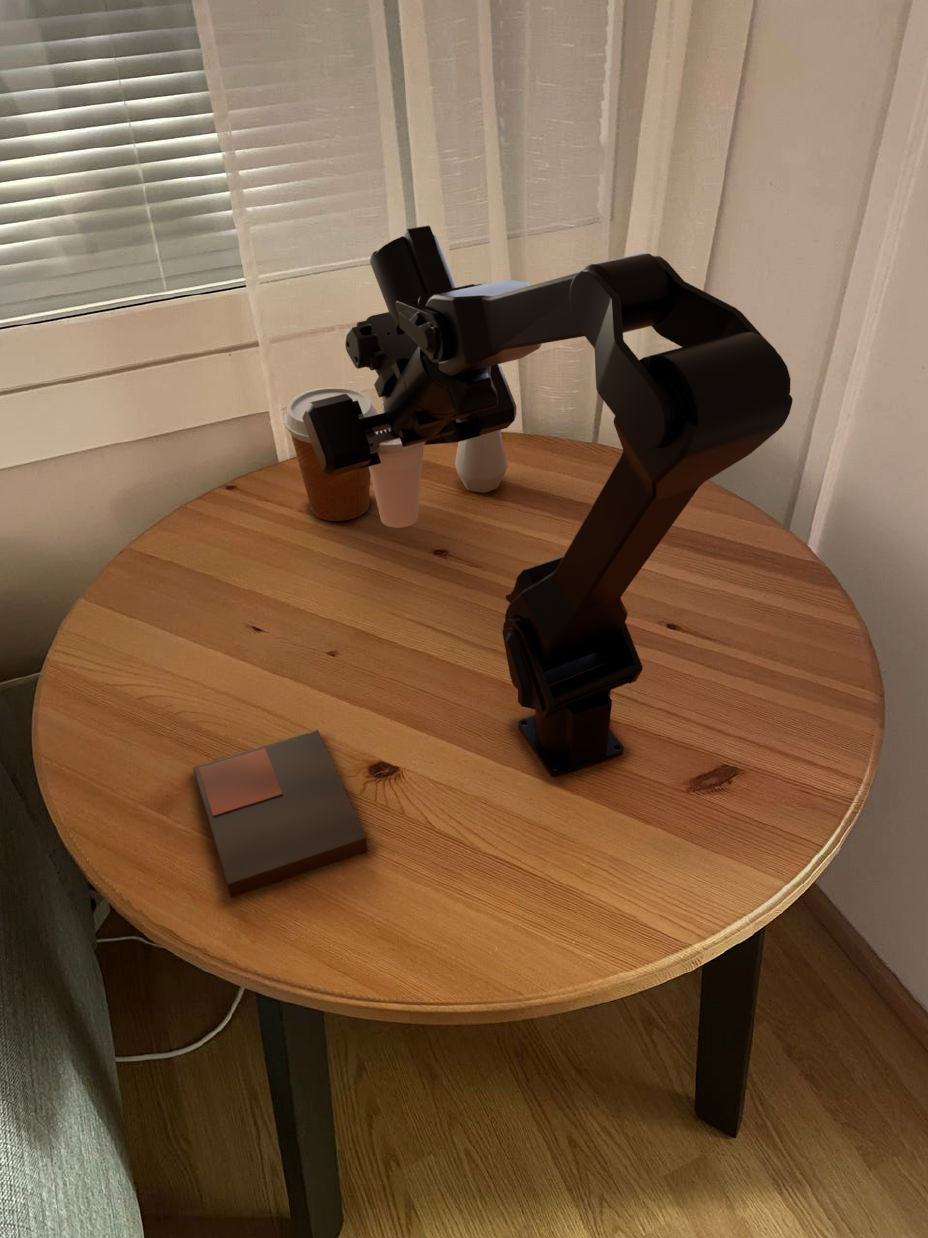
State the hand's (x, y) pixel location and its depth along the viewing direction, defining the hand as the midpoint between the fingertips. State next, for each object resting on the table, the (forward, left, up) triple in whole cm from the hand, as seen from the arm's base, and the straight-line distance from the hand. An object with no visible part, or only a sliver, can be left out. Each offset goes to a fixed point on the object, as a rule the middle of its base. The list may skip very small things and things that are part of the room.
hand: (389, 447), depth 96 cm
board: (-30, +20, -11) cm, 38 cm away
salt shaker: (+8, -13, -11) cm, 19 cm away
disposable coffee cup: (+10, +3, -11) cm, 15 cm away
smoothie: (-1, 0, -7) cm, 7 cm away
